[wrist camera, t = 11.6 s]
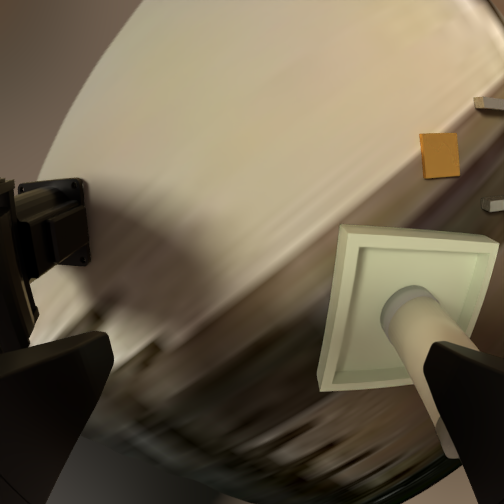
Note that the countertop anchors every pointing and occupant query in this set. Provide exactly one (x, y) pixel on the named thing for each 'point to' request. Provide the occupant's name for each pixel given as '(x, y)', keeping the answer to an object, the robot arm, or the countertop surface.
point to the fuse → (421, 342)
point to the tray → (386, 284)
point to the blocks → (454, 154)
